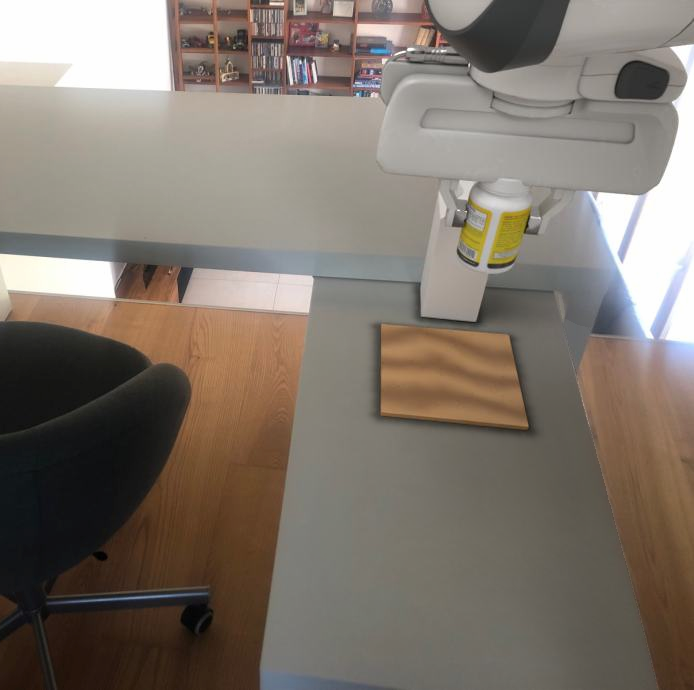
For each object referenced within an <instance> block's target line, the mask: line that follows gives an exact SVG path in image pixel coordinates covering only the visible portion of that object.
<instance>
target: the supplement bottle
mask: <svg viewBox="0 0 694 690" xmlns="http://www.w3.org/2000/svg"><path fill="white" fill-rule="evenodd" d="M532 187H533V186H524V185H523V184H522V181H521V180H516V179H504V178H500V179H498V180H497V181H496V182H494V183H488V182H477V183H475V184H474V185H473V186H472V188H471V190H470V193H469V197H468V201H467V208H468V212H467V217H466V219H465V225H464V228H462V229H461V233H460V238H459V242H458V247H457V251H456V254H457V258H458V260H459V262H460V263H461V264H462V265H463V266H465V267H466V268H468V269H470V270H473V271H476V272H480V273H486V274H489V275H498V274H503V273H506V272H508V271H509V270H511V269H512V268H513V266H514V265H515V263H516V260H517V257H518V253H519V250H520V247H521V244H522V241H523V236H524V235H525V234H524V230H525V227H526V223H527V220H528V217H529V213H530V210H531V206H533V202H534V195H533V192H532Z"/></svg>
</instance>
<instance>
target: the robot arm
mask: <svg viewBox="0 0 694 690" xmlns="http://www.w3.org/2000/svg"><path fill="white" fill-rule="evenodd" d="M423 1H424V5H425V9H426V12H427V14H428V16H429V19H430V21H431V22H432V24H433V26H434V27H435V28H436V30H437V32H438V33H439V35H441V37H442V38H443V39H444V40H445V42H447V44H448V45H449V46H441V47H440V46H438V47H436V46H435V47H433V46H427V45H425V44H411V45H407V46H406V49H404V50H399V51H397V52H395V53H393V54H392V55H391V56H389V58H387V60H386V61H385V62H384V65H383V67H382V69H381V74H380V75H381V76H380V84H379V95H380V99H381V100H382V102H383V104H384V105H385V108H384V111H383V116H382V119H381V124H380V129H379V134H378V139H377V143H376V151H375V163H376V164H377V165H378V167H379V168H380V170H381V171H382V172H383V173H384V174H387V175H395V176H396V175H397V176H410V177H421V178H429V179H431V178H432V179H438V192H439V191H440V193H441V195H442V198H443V200H444V202H445V204H446V207H447V209H446V214H445V226H447V227H458V228H464V225H465V219H466V217H467V212H468V208H467V200H462V199H457V197H456V195H455V192H454V191H456V190H457V189H458V185H459V181H460V180H465V181H477V182H488V183H494V182H496V181H497V180H498V179H500V178H504V179H516V180H521V181H522V184H523V185H524V186H532V187H535V188H548V189H550V192H551V193H550V194H549V195H548V196H547V197H546V198H545V199H544V200H543V201H542V202H541V203H540V204H538V205H532V206H531V210H530V213H529V217H528V220H527V223H526V227H525V230H524V234H523V235H533V236H542V237H544V236H545V234H546V231H547V228H548V225H549V222H550V220H551V219H553V218H554V217H555V216H556V215H558V214H559V213H560V212H561V211H562V210H563V209H565V208H566V207H567V206H568V205H569V204H571V203H572V201H573V198H574V196H575V192H576V191H582V192H594V193H605V194H616V195H626V196H627V195H628V196H636V197H637V196H643V195H645V194H647V193H648V192H650V191H652V190H653V189H654V188H656V187H658V186H659V184H660V183H661V181H662V179H663V177H664V174H665V172H666V170H667V168H668V165H669V162H670V159H671V155H672V154H673V153H672V152H673V150H674V146H675V142H676V139H677V134H678V131H679V130H678V129H679V123H680V121H679V120H680V119H679V117H680V116H679V113H678V110H677V108H676V107H675V104H674V103H673V102H675V101H676V100H677V99H678V98H680V96H681V95H682V93H683V91H684V90H685V87H686V86H687V82H688V73H687V70H686V67H685V65H684V64H683V61H682V60H681V59H680V57H679V56H678V55H677V53H676V52H675V50H673V49H672V47H673V48H674V47H675V48H676V47H681V46H690V45H694V0H423ZM404 57H405V58H404ZM402 58H404V59H402Z"/></svg>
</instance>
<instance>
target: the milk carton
mask: <svg viewBox="0 0 694 690" xmlns="http://www.w3.org/2000/svg"><path fill="white" fill-rule="evenodd" d="M475 183H477V181H465V180H460V181H459V185H458V189H457V190H456V191H454V192H455V195H456V197H457V199H462V200H467V201H468V197H469V193H470V190H471V188H472V186H473V185H474V184H475ZM434 207H435V209H434V213H433V218H432V224H431V229H430V234H429V239H428V244H427V251H426V255H425V260H424V267H423V271H422V277H421V282H420V286H419V287H420V288H419V290H420V317H423V318H430V319H431V318H432V319H441V320H449V321H450V320H451V321H459V322H460V321H461V322H472V323H477V320H478V316H479V312H480V308H481V305H482V301H483V297H484V294H485V290H486V286H487V282H488V278H489V275H490V274H486V273H480V272H476V271H473V270H470V269H468V268H466V267H465V266H463V265H462V264H461V263H460V262H459V260H458V258H457V254H456V251H457V247H458V242H459V238H460V233H461V229H462V228H458V227H447V226H445V214H446V209H447V207H446V204H445V202H444V200H443V198H442V195H441V193H440V191H439V190H438V193H437V196H436V202H435V206H434Z"/></svg>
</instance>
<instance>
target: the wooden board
mask: <svg viewBox="0 0 694 690" xmlns="http://www.w3.org/2000/svg"><path fill="white" fill-rule="evenodd" d="M380 416H383V417H393V418H400V419H401V418H402V419H410V420H411V419H412V420H420V421H421V420H422V421H431V422H442V423H453V424H460V425H462V424H463V425H469V426H482V427H492V428H502V429H509V430H522V431H528V430H529V428H530V426H529V422H528V417H527V412H526V407H525V404H524V398H523V394H522V389H521V385H520V380H519V375H518V371H517V365H516V362H515V357H514V353H513V347H512V343H511V338H510V334H509V333H508V334H507V333H498V332H497V333H496V332H483V331H472V330H461V329H460V330H459V329H449V328H448V329H446V328H435V327H423V326H412V325H411V326H409V325H400V324H399V325H397V324H387V323H381V324H380Z"/></svg>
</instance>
